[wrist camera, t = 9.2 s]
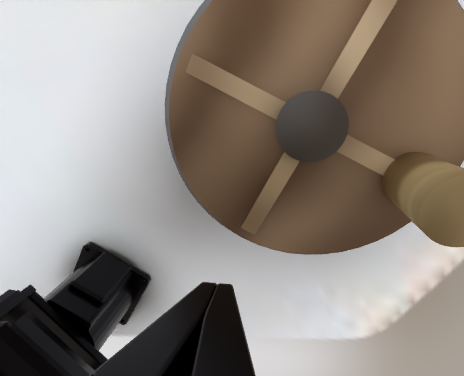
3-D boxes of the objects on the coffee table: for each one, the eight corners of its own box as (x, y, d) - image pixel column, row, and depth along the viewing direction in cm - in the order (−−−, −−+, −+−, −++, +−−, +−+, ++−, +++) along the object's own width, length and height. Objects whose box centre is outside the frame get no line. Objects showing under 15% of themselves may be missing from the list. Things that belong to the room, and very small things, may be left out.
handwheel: (144, 174, 19) (87, 207, 13) (249, -104, 13) (225, -251, 8) (347, 280, 19) (375, 358, 13) (540, 49, 13) (731, 16, 8)
